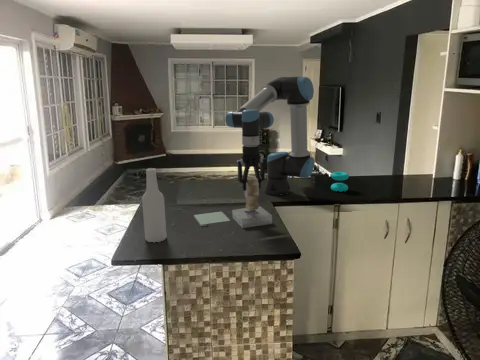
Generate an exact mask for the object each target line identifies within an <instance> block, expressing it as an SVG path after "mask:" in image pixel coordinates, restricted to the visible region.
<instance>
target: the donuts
mask: <svg viewBox="0 0 480 360" xmlns="http://www.w3.org/2000/svg"><path fill="white" fill-rule="evenodd" d="M330 177H331V178H332V179H333V180H334V181H346V180H348V179H349V177H350V175H349V173H347V172H345V171H335V172H332V173H331V174H330ZM330 190H331V191H333V192H337V191H339V193H343V191H344V192H346V191H348V190H349V186H348V184H346V183H344V182H335V183H332V184H331V186H330Z"/></svg>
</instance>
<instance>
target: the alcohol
mask: <svg viewBox="0 0 480 360" xmlns="http://www.w3.org/2000/svg"><path fill="white" fill-rule="evenodd" d="M145 174H146V175H145V176H146V180H145V181H146V182H145V183H146V189H145V192H144V193H143V196H142V197H141V198H142V199H141V202H142V203H141V204H142V206H141V207H142V216H143V228H144V230H143V231H144V239H145V241H146V242H148V243H150V242H153V243H152V244H154V243H155V242H158V243H161V241H162V242H164V241H165V240H166V238H167V237H168V236H167V221H166V207H165V197H164V194H163V193H162V192H161V191H160V190H159V185H158V179H157V169H156V167H155V168H153V167H148V168H147V169H145ZM155 244H156V243H155Z"/></svg>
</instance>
